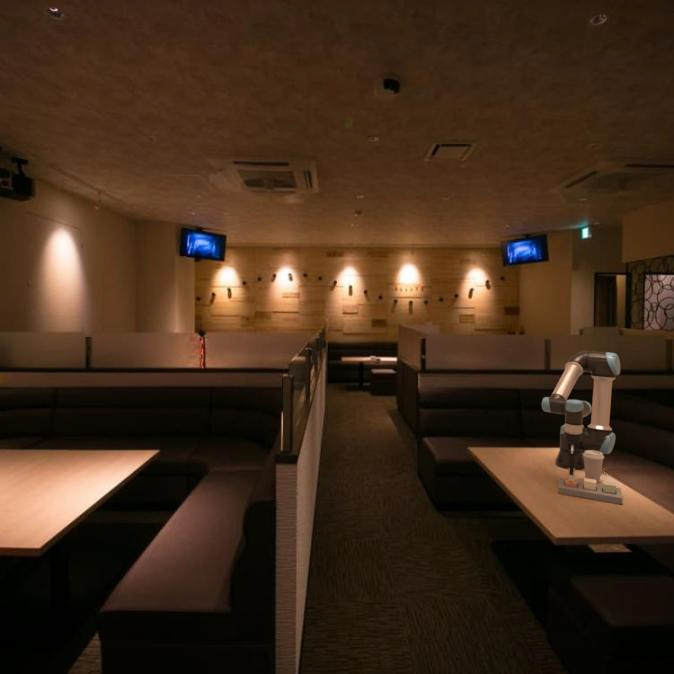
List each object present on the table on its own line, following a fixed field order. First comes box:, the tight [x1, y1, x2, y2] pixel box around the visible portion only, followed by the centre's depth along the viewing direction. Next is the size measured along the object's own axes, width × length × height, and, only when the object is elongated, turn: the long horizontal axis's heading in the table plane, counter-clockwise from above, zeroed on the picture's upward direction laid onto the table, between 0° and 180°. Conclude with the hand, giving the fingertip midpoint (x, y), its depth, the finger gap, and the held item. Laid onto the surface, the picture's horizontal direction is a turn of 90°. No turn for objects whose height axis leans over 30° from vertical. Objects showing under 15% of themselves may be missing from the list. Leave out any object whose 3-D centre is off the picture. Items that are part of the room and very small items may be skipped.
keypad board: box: [558, 478, 623, 506], centre depth 229 cm, size 14×26×3 cm, turn 62°
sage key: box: [602, 480, 617, 494], centre depth 225 cm, size 5×5×4 cm
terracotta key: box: [565, 478, 578, 488], centre depth 233 cm, size 5×5×4 cm
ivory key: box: [583, 477, 596, 490], centre depth 229 cm, size 5×5×4 cm
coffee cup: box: [583, 450, 605, 485], centre depth 246 cm, size 10×10×15 cm
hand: (571, 480), depth 233 cm, fingers closed
